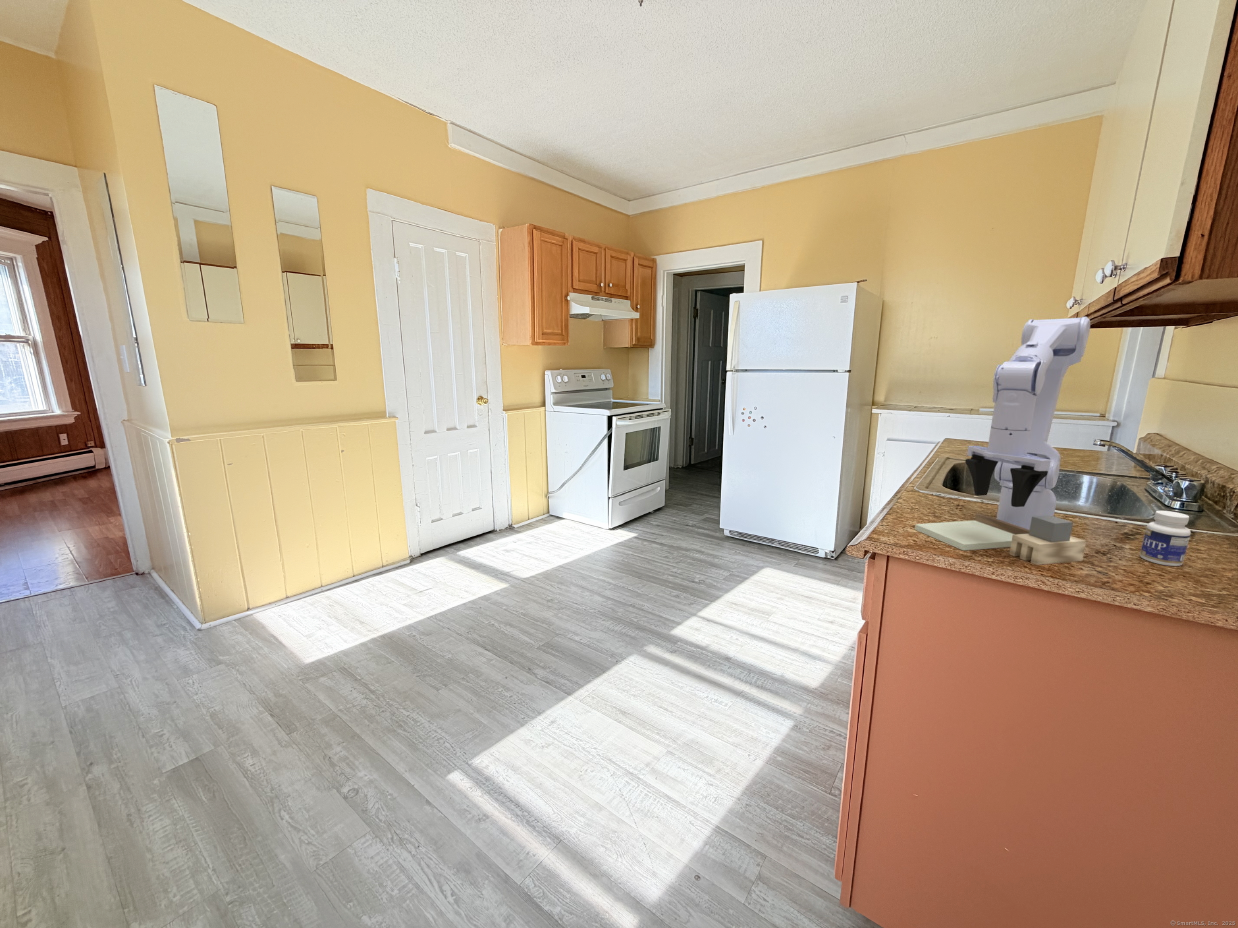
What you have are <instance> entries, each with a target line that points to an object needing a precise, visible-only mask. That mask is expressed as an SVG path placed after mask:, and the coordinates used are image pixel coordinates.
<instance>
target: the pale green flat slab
mask: <svg viewBox="0 0 1238 928" xmlns="http://www.w3.org/2000/svg"><path fill="white" fill-rule="evenodd" d="M974 517H975V518H974V520H959V521H944V522H928V523H927V522H926V523H916V524H915V526H914V530H915V531H917V532H920V533H922V534H924V535H926V536H928V537H931V538H933V539H936V540H938V541H941V542H943V543H946V544H947V545H950V546H952V547H954V548H957V549H959V550H961V551H973V550H974V551H976V550H986V549H988V550H989V549H1000V548H1010V547H1011V541H1012V536H1013V535H1016V534H1029V530H1028V529H1025V528H1022V527H1019V526H1016V525H1013V524H1010V523H1007V522H1004V521H1001V520H998V519H997V518H995V517H992V516H990V515H986V514H983V513H975V516H974Z"/></svg>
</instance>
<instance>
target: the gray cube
mask: <svg viewBox="0 0 1238 928" xmlns="http://www.w3.org/2000/svg"><path fill="white" fill-rule="evenodd" d="M1073 525H1074V522H1073V521H1071V520H1067V519H1063V518H1062V517H1061V518H1060V517H1056V516H1050V515H1048V516H1033V517H1032V519H1031V525H1030V530H1029V535H1031V536H1034V537H1037V538H1040V539H1043V540H1046V541H1049V542H1062V541H1070V536H1072V530H1073V527H1074V526H1073Z"/></svg>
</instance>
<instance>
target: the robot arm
mask: <svg viewBox="0 0 1238 928" xmlns="http://www.w3.org/2000/svg"><path fill="white" fill-rule="evenodd" d="M1090 330H1091V319H1089V317H1088V316H1082V317H1071V318H1070V317H1069V318H1054V319H1053V318H1052V319H1051V318H1050V319H1049V318H1048V319H1031V318H1030V319H1028V321H1026V322H1025V324H1024V326H1023V329H1022V333H1021V339H1020V340H1021V341H1020V343H1021V346H1019V347H1018V348H1017V349H1016V350H1015V352H1014V354H1012V355H1011V357H1010V359H1009V360H1008V361H1004V362H1003V363H1002V364H998V365H997V366H996V369H995V372H994V375H993V379H992V382H993V383H992V385H993V386H992V389H993V391H992V392H993V395H992V403H994V406H993V412H992V417H991V418H992V419H991V424H990V425H991V426H990V431H989V437H988V442H987V447H986V446H981V445H968V447H967V452H966V455H967V456H969V457H970V458H966V459H965V461H964V463H965V464H966V466H967V468H968V470H969V474H970V476H971V478H972V479H971V480H972V485H973V491H974V495H975V496H978V497H981V496H987V495H988V493H989V490H990V485H991V479H992V477H993V474H994V479H995V480H996V481H997V482H999V486H1001V490H1000V496H999V500H998V508H997V514H996V519H998V520H1001V521H1004V522H1007V523H1010V524H1013V525H1016V526H1019V527H1022V528H1025V529H1028V530H1030V525H1031V519H1032V517H1033V516H1048V515H1050V516H1054V515H1055V512H1056V505H1057V498H1056V495H1055V493H1054V492H1053V491H1052V490H1051V489H1053V488H1055V486H1056V484H1057V481H1058V478H1059V475H1060V469H1061V459H1062V457H1061V454H1060V452H1059V451H1058V450H1057V449H1055V447H1053V446H1052V445H1051V444H1049V443H1048V439H1049V436H1050V432H1051V429H1052V425H1053V420H1054V415H1055V412H1056V408H1057V405H1058V404H1057V403H1058V399H1059V397H1060V392H1061V388H1062V384H1063V379H1064V377H1065V375H1066V373H1067V371H1068V369H1069V367H1070V366H1071V367H1072V366H1073V365H1076V364H1078V363H1080V362H1081V361H1082V358H1083V357H1084V355H1085V351H1086V347H1087V343H1088V340H1089V336H1090ZM1054 517H1055V516H1054Z"/></svg>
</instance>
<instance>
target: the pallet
mask: <svg viewBox="0 0 1238 928" xmlns="http://www.w3.org/2000/svg"><path fill="white" fill-rule="evenodd" d="M1086 544H1087V540H1086V539H1082V538H1079V537H1076V536H1072V535H1071V536H1070V541H1062V542H1049V541H1046V540H1043V539H1040V538H1037V537H1034V536H1031V535H1029V534H1016V535H1013V536H1012V541H1011V547H1009V555H1010V556H1013V557H1019V559H1020V560H1022V561H1030V563H1031V564H1033V565H1035V566H1038V565H1050V564H1062V563H1072V562H1073V563H1074V562H1083V560H1084V555H1085V550H1086Z"/></svg>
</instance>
